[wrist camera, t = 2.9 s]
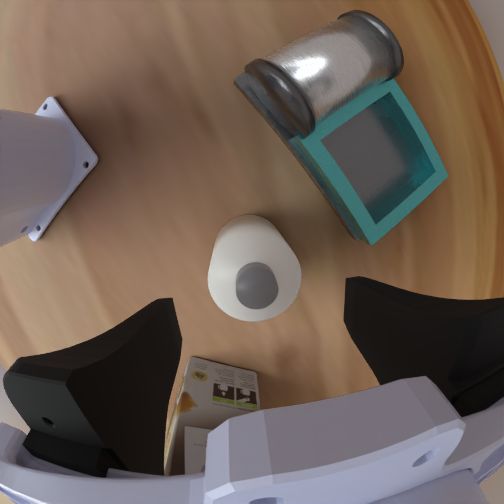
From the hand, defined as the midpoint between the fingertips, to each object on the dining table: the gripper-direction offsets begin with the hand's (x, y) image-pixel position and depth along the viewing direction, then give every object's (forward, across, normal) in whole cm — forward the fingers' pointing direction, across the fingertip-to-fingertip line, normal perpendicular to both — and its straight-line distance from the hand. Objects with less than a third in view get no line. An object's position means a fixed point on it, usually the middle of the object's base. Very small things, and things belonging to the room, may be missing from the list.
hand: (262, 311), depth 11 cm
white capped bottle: (+9, 0, 0) cm, 9 cm away
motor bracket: (+9, -8, -9) cm, 15 cm away
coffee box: (+9, +5, +14) cm, 18 cm away
